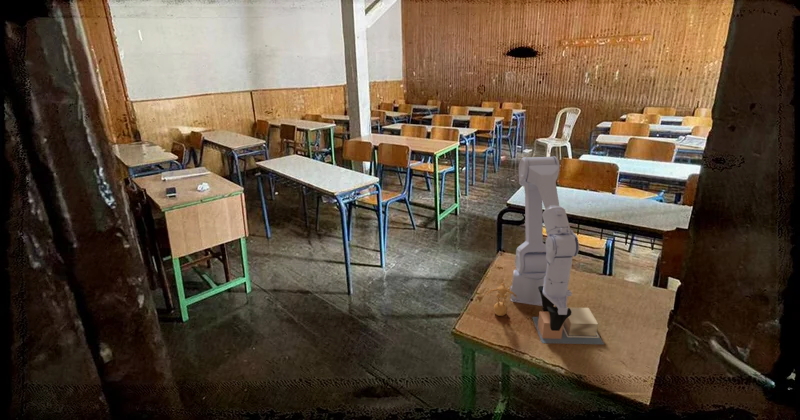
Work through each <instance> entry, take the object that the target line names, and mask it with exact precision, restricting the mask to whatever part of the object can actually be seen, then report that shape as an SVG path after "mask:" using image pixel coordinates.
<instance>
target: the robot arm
mask: <svg viewBox="0 0 800 420" xmlns="http://www.w3.org/2000/svg"><path fill="white" fill-rule="evenodd" d="M560 168H561V167H560V161H559V159H558V158H557V156H555V155H552V156H535V157H534V156H531V157H530V156H529V157H526V156H523V157H522V158H521V159H520V161H519V164H518V183H519V185H520V186H521V187H523V188H524V204H525V205H524V210H525V213H524V214H525V215H524V217H525V241H523V243H521V244H520V245H519V246H517V248H516V249H515V258H514V264H515V269H513V274H512V281H511V285H510V289H509V290H510V291H512V292H513V293H514V294H515V295H516V296H517V298H516V297H515V296H514V295H513V294H511V293H510V302H514V303H520V304H527V305H531V306H538V307H542V311H543V312H549V315H550V327H551V330H552V331H559V330H560V328H561V327H562V325H563V323H564V321H565V320H566V319H567V318H568V317H569V316H570V315H571V310H570V308H571V307H569V308H567V307H568V305H567V303H568V297H571V296H572V294H573V293H572V291H571V290H570V289H568V288H569V284H570V277H571V272H572V271H571V269H572V263H573V257H577V256H578V253H579V250H580V243H579V238H578V235H577V234H576V233H575V232H574V229H571V227H570V223H569V220H568V219H569V218H568V216H567V212H566V209H565V208H564V207H562V206H560V202H559V196H558V188H557V183H556V182H557V180H558V177H559V174H560ZM543 206H544V211H543ZM543 224H544V227H545V228H544V229H545V231H546V240H545V243H544V239H543V238H544V237H543V236H544V234H543V233H544V231H543Z"/></svg>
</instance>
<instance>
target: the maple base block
mask: <svg viewBox="0 0 800 420" xmlns="http://www.w3.org/2000/svg"><path fill="white" fill-rule="evenodd" d="M567 308H570V310H571V315H570V316H569V317H568V318H567V319H566V320H565V321H564V326H565V328H566V330H567V332H568V334H569V335H572V336H596V332H598V326H599V323H598V320H596V317H595V316H594V314H593V312H592V311H591V309H590V307H569V306H567Z"/></svg>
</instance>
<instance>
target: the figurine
mask: <svg viewBox="0 0 800 420" xmlns="http://www.w3.org/2000/svg"><path fill="white" fill-rule="evenodd" d="M510 290H511V289H508V288H507V287H506V285H505V283H504V282H502V283H501V284H500V286H498V287H496V288H493V289H490V290H489V291H488V292H487V293H486V295H489V294H490V293H493V292H496V291H497V292H498V293H496V298H497V299H496V303H495V304H494V305H493V312H494V313H495V315H496V316H499V317H503V316H505V315H506V314H507V313H508V306H507V304H506V299H507V297H508V295H507V294H506V293H510V295H511V294H513V295H514V296H515V297H516V298H517V296H516V295H515V294H514V293H513V292H512V291H510ZM500 298H502V299H503V300H502V301H500Z"/></svg>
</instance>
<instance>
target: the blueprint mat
mask: <svg viewBox="0 0 800 420" xmlns="http://www.w3.org/2000/svg"><path fill="white" fill-rule="evenodd" d="M538 319H539V316H532V321H533V323H534V326H535V328H536V331H537V334H538V336H539V339H540V342H541V344H565V345H567V344H569V345H573V344H574V345H575V344H576V345H605V343H604V341H603V340H602V338H601V336H600V335H599V332H598V331H597V332H596V336H572V335H569V334H568V332H567V330H566V328H565V326H564V325H563V331H562V337H561V339H550V338H542V337H541V334H540V331H539V329H538Z"/></svg>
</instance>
